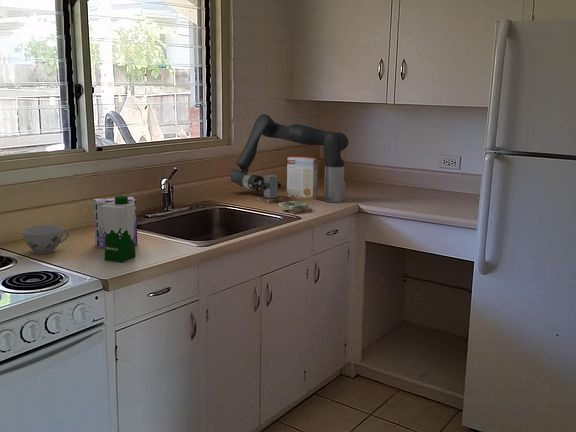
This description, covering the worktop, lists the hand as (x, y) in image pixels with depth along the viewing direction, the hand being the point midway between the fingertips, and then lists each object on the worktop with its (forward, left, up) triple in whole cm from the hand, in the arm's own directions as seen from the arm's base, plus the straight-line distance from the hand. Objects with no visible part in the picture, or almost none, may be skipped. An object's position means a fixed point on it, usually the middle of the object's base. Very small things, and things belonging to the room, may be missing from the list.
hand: (273, 186), depth 286 cm
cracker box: (-19, -2, -9) cm, 21 cm away
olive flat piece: (0, +7, -9) cm, 11 cm away
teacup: (+110, +21, -9) cm, 112 cm away
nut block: (0, -2, -7) cm, 7 cm away
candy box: (+88, +26, -9) cm, 92 cm away
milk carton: (+94, +43, -9) cm, 104 cm away
